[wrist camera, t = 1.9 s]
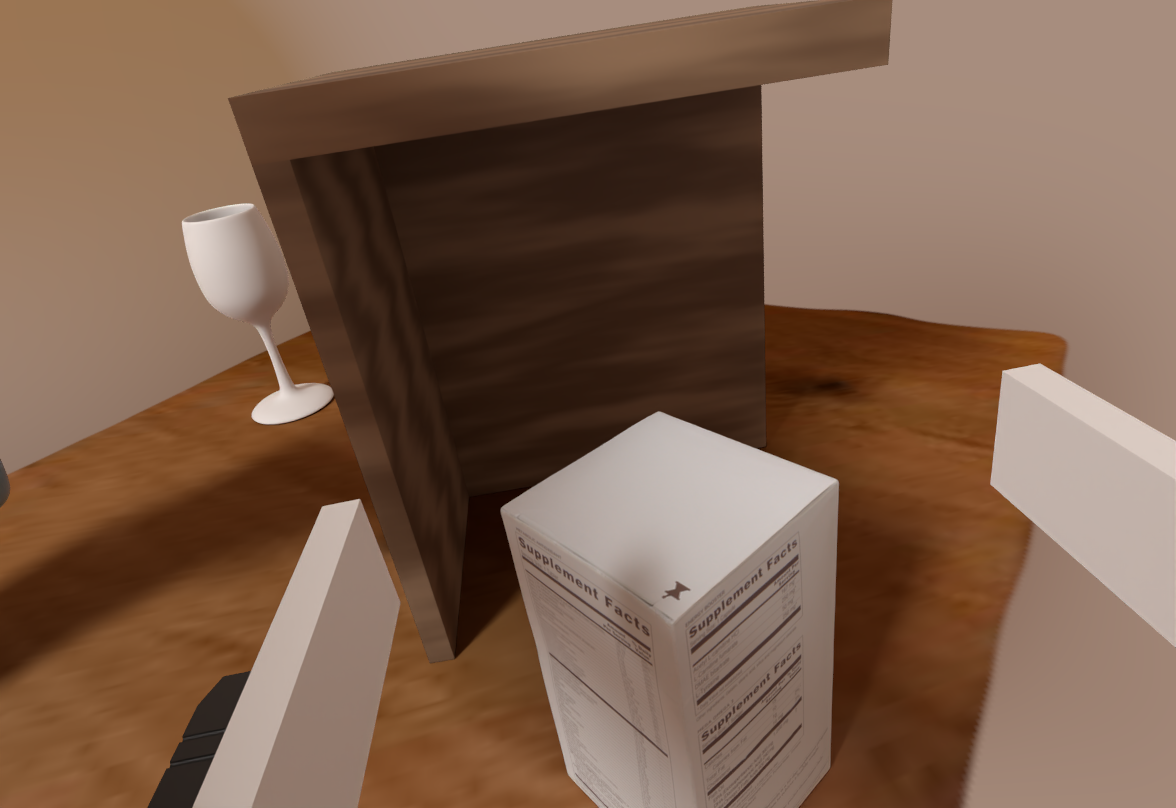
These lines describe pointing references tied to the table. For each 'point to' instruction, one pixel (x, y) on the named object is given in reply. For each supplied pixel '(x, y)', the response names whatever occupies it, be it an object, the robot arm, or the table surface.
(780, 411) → the table surface
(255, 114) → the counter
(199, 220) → the wineglass
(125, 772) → the table surface
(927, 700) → the table surface
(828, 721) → the supplement box
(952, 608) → the table surface
